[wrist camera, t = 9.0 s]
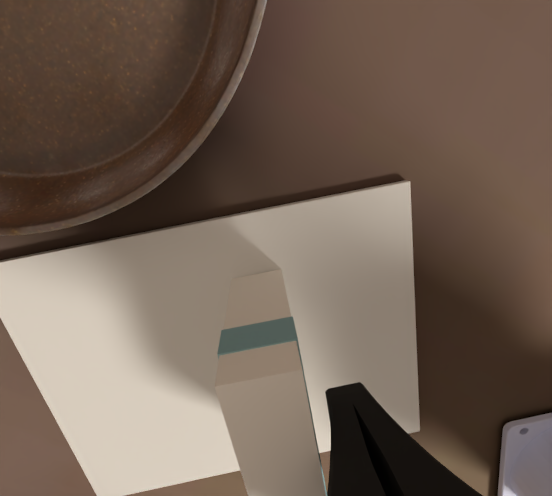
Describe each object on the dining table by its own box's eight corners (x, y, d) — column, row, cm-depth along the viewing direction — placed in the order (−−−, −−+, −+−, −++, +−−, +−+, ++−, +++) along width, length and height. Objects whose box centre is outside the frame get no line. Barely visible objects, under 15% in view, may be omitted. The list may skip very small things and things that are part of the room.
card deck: (282, 268, 14) (304, 367, 8) (312, 423, 17) (343, 582, 11) (230, 277, 14) (211, 385, 8) (269, 432, 17) (277, 595, 11)
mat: (405, 180, 14) (410, 181, 13) (416, 424, 18) (419, 431, 18) (-19, 264, 13) (-27, 268, 13) (102, 493, 18) (99, 500, 17)
